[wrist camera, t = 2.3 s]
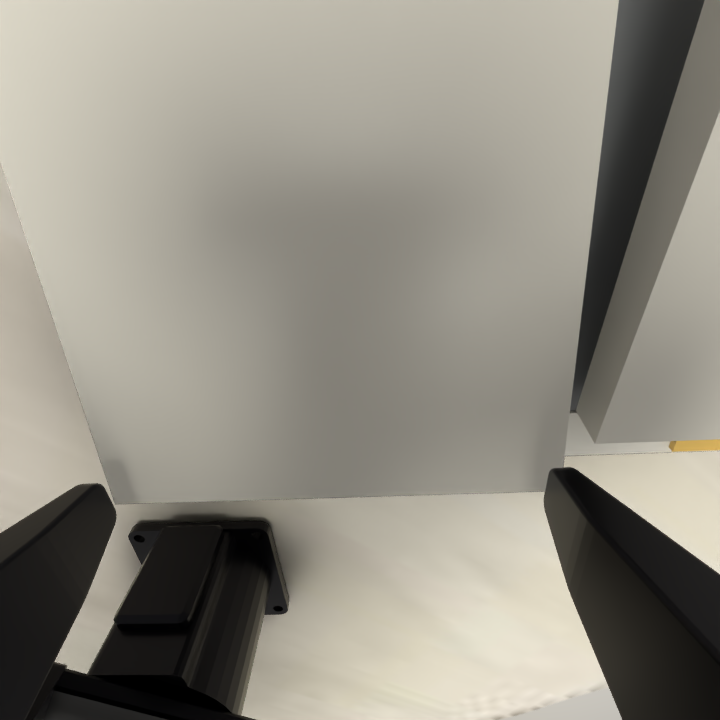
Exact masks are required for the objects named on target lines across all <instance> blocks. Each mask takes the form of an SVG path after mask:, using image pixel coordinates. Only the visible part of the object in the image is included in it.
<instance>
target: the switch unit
mask: <svg viewBox="0 0 720 720" xmlns="http://www.w3.org/2000/svg"><path fill="white" fill-rule="evenodd" d="M704 1H705V0H619V4H618V12H617V21H616V29H615V38H614V46H613V54H612V63H611V71H610V79H609V88H608V96H607V105H606V113H605V121H604V130H603V138H602V147H601V155H600V163H599V172H598V180H597V189H596V197H595V205H594V214H593V222H592V231H591V239H590V247H589V256H588V264H587V273H586V281H585V289H584V298H583V306H582V314H581V323H580V331H579V340H578V348H577V356H576V365H575V373H574V382H573V390H572V398H571V407H570V415H569V424H568V432H567V440H566V449H565V456H585V455H613V454H642V453H671V452H699V451H720V439H713V440H686V441H659V442H631V443H604V444H595V443H594V442H593V440H592V438H591V436H590V435H589V433H588V431H587V429H586V428H585V426H584V424H583V422H582V421H581V419H580V417H579V415H578V414H577V412H576V409H577V405H578V402H579V399H580V396H581V393H582V389H583V386H584V383H585V380H586V377H587V374H588V370H589V367H590V364H591V361H592V358H593V354H594V351H595V348H596V345H597V342H598V338H599V335H600V332H601V329H602V326H603V323H604V319H605V316H606V313H607V310H608V307H609V303H610V300H611V297H612V294H613V291H614V288H615V284H616V281H617V278H618V275H619V272H620V268H621V265H622V262H623V259H624V256H625V252H626V249H627V246H628V243H629V240H630V237H631V233H632V230H633V227H634V224H635V221H636V217H637V214H638V211H639V208H640V205H641V202H642V198H643V195H644V192H645V189H646V186H647V182H648V179H649V176H650V173H651V170H652V167H653V163H654V160H655V157H656V154H657V151H658V147H659V144H660V141H661V138H662V135H663V131H664V128H665V125H666V122H667V119H668V116H669V112H670V109H671V106H672V103H673V100H674V96H675V93H676V90H677V87H678V84H679V81H680V77H681V74H682V71H683V68H684V65H685V61H686V58H687V55H688V52H689V49H690V45H691V42H692V39H693V36H694V33H695V30H696V26H697V23H698V20H699V17H700V14H701V10H702V7H703V4H704Z"/></svg>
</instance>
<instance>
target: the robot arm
mask: <svg viewBox="0 0 720 720" xmlns="http://www.w3.org/2000/svg"><path fill="white" fill-rule="evenodd" d="M544 508H545V513H546V516H547V519H548V523H549V526H550V529H551V533H552V536H553V540H554V543H555V546H556V550H557V553H558V556H559V560H560V563H561V566H562V570H563V573H564V577H565V580H566V583H567V586H568V589H569V592H570V594H571V597H572V599H573V602H574V604H575V607H576V609H577V612H578V614H579V616H580V619H581V621H582V624H583V626H584V628H585V631H586V633H587V636H588V638H589V640H590V643H591V645H592V648H593V650H594V653H595V655H596V657H597V660H598V662H599V665H600V667H601V669H602V672H603V674H604V677H605V679H606V681H607V684H608V686H609V689H610V691H611V693H612V696H613V698H614V701H615V703H616V705H617V708H618V710H619V713H620V715H621V717H622V720H720V574H719V573H717V572H716V571H715V570H713V569H712V568H710V567H709V566H708V565H706V564H705V563H704V562H702V561H701V560H699V559H698V558H697V557H695V556H694V555H693V554H691V553H690V552H689V551H687V550H686V549H684V548H683V547H682V546H680V545H679V544H678V543H676V542H675V541H673V540H672V539H671V538H669V537H668V536H667V535H665V534H664V533H662V532H661V531H660V530H658V529H657V528H656V527H654V526H653V525H652V524H650V523H649V522H647V521H646V520H645V519H643V518H642V517H641V516H639V515H638V514H636V513H635V512H634V511H632V510H631V509H630V508H628V507H627V506H626V505H624V504H623V503H621V502H620V501H619V500H617V499H616V498H615V497H613V496H612V495H610V494H609V493H608V492H606V491H605V490H604V489H602V488H601V487H599V486H598V485H597V484H595V483H594V482H593V481H591V480H590V479H589V478H587V477H586V476H584V475H583V474H582V473H580V472H579V471H578V470H576V469H574V468H570V467H566V468H553V469H551V470H550V471H549V474H548V479H547V484H546V489H545V495H544ZM115 522H116V510H115V508H114V506H113V504H112V502H111V500H110V498H109V496H108V494H107V492H106V490H105V488H104V486H102V485H101V484H98V483H93V484H80V485H77V486H75V487H74V488H72V489H70V490H69V491H67V492H66V493H64V494H62V495H61V496H59V497H58V498H56V499H54V500H53V501H51V502H50V503H48V504H46V505H45V506H43V507H42V508H40V509H38V510H37V511H35V512H34V513H32V514H30V515H29V516H27V517H26V518H24V519H22V520H21V521H19V522H18V523H16V524H14V525H13V526H11V527H10V528H8V529H6V530H5V531H3V532H2V533H0V720H255V719H252V718H248V717H244V716H241V714H242V710H243V705H244V701H245V697H246V692H247V688H248V683H249V679H250V675H251V670H252V666H253V662H254V657H255V653H256V649H257V644H258V640H259V635H260V631H261V627H262V622H263V618H264V615H275V614H284V613H286V612H287V611H288V606H289V598H288V595H287V591H286V587H285V583H284V579H283V575H282V571H281V567H280V563H279V560H278V556H277V552H276V548H275V544H274V540H273V536H272V532H271V528H270V526H269V525H268V524H267V523H265V522H262V521H235V522H198V523H160V524H138V525H135V526H134V527H133V529H132V530H131V532H130V533H129V536H128V537H129V540H130V542H131V544H132V546H133V548H134V550H135V552H136V554H137V556H138V558H139V560H140V562H141V564H142V566H141V568H140V570H139V572H138V574H137V576H136V577H135V579H134V581H133V583H132V585H131V587H130V589H129V590H128V592H127V594H126V596H125V598H124V600H123V602H122V603H121V605H120V607H119V609H118V611H117V613H116V615H115V617H114V624H113V626H112V628H111V630H110V632H109V634H108V636H107V637H106V639H105V641H104V643H103V645H102V647H101V649H100V651H99V652H98V654H97V656H96V658H95V660H94V662H93V664H92V666H91V667H90V669H89V671H88V673H87V674H84V673H80V672H76V671H73V670H69V669H67V665H64V664H60V663H57V662H54V661H55V659H56V657H57V655H58V653H59V651H60V649H61V647H62V645H63V643H64V641H65V639H66V637H67V635H68V633H69V631H70V629H71V627H72V625H73V623H74V621H75V619H76V617H77V615H78V613H79V611H80V609H81V607H82V605H83V603H84V601H85V598H86V596H87V594H88V591H89V589H90V587H91V584H92V582H93V579H94V577H95V574H96V571H97V569H98V566H99V564H100V561H101V559H102V556H103V553H104V551H105V548H106V546H107V543H108V541H109V538H110V536H111V533H112V530H113V528H114V525H115Z"/></svg>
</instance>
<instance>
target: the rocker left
mask: <svg viewBox="0 0 720 720" xmlns="http://www.w3.org/2000/svg"><path fill="white" fill-rule="evenodd" d="M618 4H619V0H0V163H1V166H2V169H3V172H4V175H5V178H6V181H7V184H8V187H9V190H10V193H11V196H12V199H13V202H14V205H15V208H16V211H17V214H18V217H19V220H20V223H21V226H22V229H23V232H24V235H25V238H26V241H27V244H28V247H29V250H30V253H31V256H32V259H33V262H34V265H35V268H36V271H37V274H38V277H39V279H40V282H41V285H42V288H43V291H44V294H45V297H46V300H47V303H48V306H49V309H50V312H51V315H52V318H53V321H54V324H55V327H56V330H57V333H58V336H59V339H60V342H61V345H62V348H63V351H64V354H65V357H66V360H67V363H68V366H69V369H70V372H71V375H72V378H73V381H74V384H75V387H76V390H77V393H78V396H79V399H80V402H81V405H82V408H83V410H84V413H85V416H86V419H87V422H88V425H89V428H90V431H91V434H92V437H93V440H94V443H95V446H96V449H97V452H98V455H99V458H100V461H101V464H102V467H103V470H104V473H105V476H106V479H107V482H108V485H109V488H110V491H111V494H112V497H113V500H114V503H115V504H146V503H179V502H213V501H246V500H280V499H313V498H347V497H380V496H414V495H447V494H481V493H514V492H545V489H546V484H547V479H548V474H549V471H550V470H551V469H553V468H563V466H564V457H565V449H566V440H567V432H568V424H569V415H570V407H571V398H572V390H573V382H574V373H575V365H576V356H577V348H578V340H579V331H580V323H581V314H582V306H583V298H584V289H585V281H586V273H587V264H588V256H589V247H590V239H591V231H592V222H593V214H594V205H595V197H596V189H597V180H598V172H599V163H600V155H601V147H602V138H603V130H604V121H605V113H606V105H607V96H608V88H609V79H610V71H611V63H612V54H613V46H614V38H615V29H616V21H617V12H618Z"/></svg>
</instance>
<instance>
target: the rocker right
mask: <svg viewBox="0 0 720 720" xmlns="http://www.w3.org/2000/svg"><path fill="white" fill-rule="evenodd" d="M576 412H577V414H578V415H579V417H580V419H581V421H582V422H583V424H584V426H585V428H586V429H587V431H588V433H589V435H590V436H591V438H592V440H593V442H594V443H595V444H604V443H631V442H659V441H686V440H713V439H720V0H705V1H704V4H703V7H702V10H701V14H700V17H699V20H698V23H697V26H696V30H695V33H694V36H693V39H692V42H691V45H690V49H689V52H688V55H687V58H686V61H685V65H684V68H683V71H682V74H681V77H680V81H679V84H678V87H677V90H676V93H675V96H674V100H673V103H672V106H671V109H670V112H669V116H668V119H667V122H666V125H665V128H664V131H663V135H662V138H661V141H660V144H659V147H658V151H657V154H656V157H655V160H654V163H653V167H652V170H651V173H650V176H649V179H648V182H647V186H646V189H645V192H644V195H643V198H642V202H641V205H640V208H639V211H638V214H637V217H636V221H635V224H634V227H633V230H632V233H631V237H630V240H629V243H628V246H627V249H626V252H625V256H624V259H623V262H622V265H621V268H620V272H619V275H618V278H617V281H616V284H615V288H614V291H613V294H612V297H611V300H610V303H609V307H608V310H607V313H606V316H605V319H604V323H603V326H602V329H601V332H600V335H599V338H598V342H597V345H596V348H595V351H594V354H593V358H592V361H591V364H590V367H589V370H588V374H587V377H586V380H585V383H584V386H583V389H582V393H581V396H580V399H579V402H578V405H577V409H576Z"/></svg>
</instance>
